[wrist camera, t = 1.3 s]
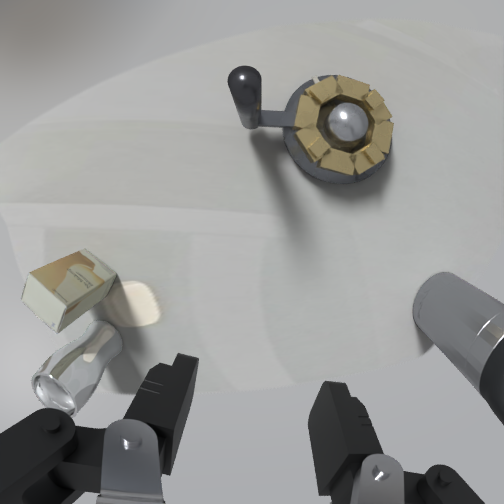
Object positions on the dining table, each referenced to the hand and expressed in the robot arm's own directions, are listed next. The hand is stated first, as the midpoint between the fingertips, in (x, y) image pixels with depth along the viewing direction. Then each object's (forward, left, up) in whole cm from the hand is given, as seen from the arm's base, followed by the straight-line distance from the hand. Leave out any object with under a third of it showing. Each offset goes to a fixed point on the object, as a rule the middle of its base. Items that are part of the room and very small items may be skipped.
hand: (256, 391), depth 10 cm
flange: (-6, -15, -27) cm, 32 cm away
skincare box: (+21, +9, -28) cm, 36 cm away
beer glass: (+19, +19, -28) cm, 38 cm away
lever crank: (-3, -15, -26) cm, 30 cm away
